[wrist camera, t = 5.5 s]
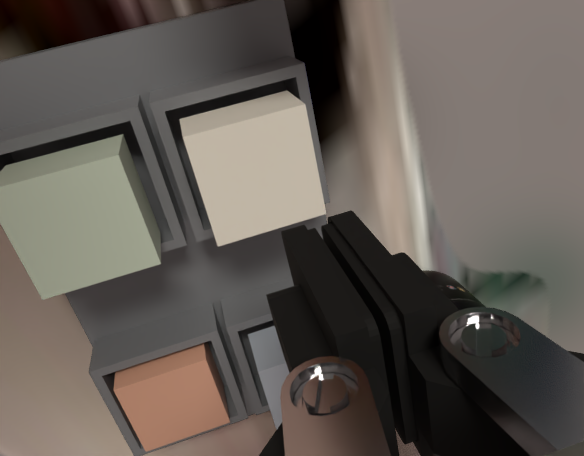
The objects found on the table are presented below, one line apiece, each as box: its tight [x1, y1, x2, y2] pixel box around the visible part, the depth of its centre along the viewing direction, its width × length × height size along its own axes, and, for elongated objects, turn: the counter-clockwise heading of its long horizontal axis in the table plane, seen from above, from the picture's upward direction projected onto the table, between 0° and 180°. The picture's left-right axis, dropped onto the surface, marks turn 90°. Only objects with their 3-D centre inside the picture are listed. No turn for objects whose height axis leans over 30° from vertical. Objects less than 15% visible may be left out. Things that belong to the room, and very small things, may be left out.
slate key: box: [248, 326, 290, 429], centre depth 22 cm, size 4×4×2 cm
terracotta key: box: [114, 342, 230, 452], centre depth 23 cm, size 4×4×2 cm
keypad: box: [0, 0, 330, 456], centre depth 22 cm, size 20×12×3 cm, turn 12°
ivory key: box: [179, 91, 326, 247], centre depth 17 cm, size 4×4×2 cm
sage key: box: [0, 134, 161, 300], centre depth 17 cm, size 4×4×2 cm
